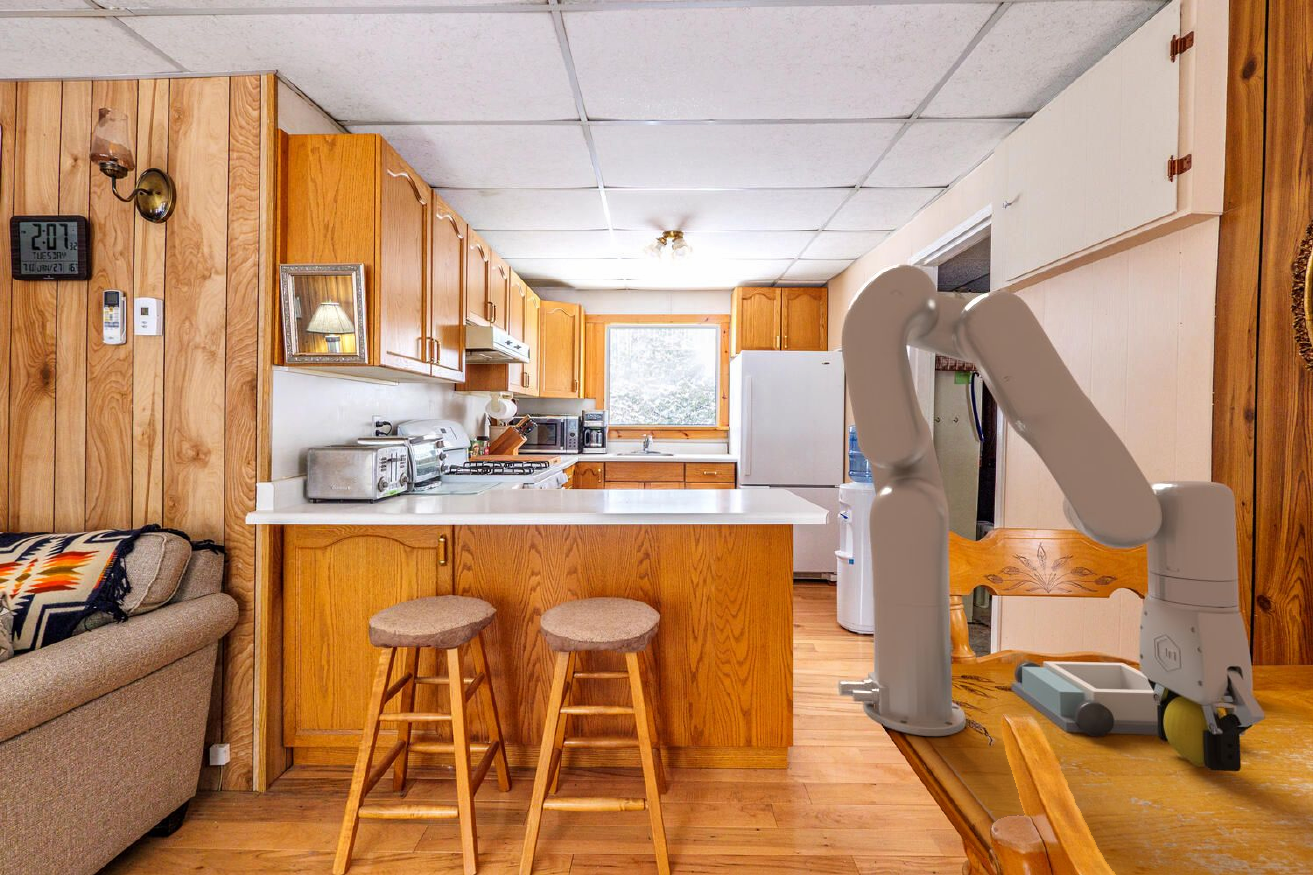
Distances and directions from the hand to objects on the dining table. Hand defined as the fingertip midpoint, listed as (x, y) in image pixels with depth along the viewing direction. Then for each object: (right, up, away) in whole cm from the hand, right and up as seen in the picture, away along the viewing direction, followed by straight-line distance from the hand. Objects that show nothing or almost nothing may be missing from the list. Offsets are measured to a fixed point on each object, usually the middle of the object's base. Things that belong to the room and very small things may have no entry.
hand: (1197, 752), depth 65 cm
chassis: (+1, -2, +14) cm, 14 cm away
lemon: (0, -2, 0) cm, 2 cm away
